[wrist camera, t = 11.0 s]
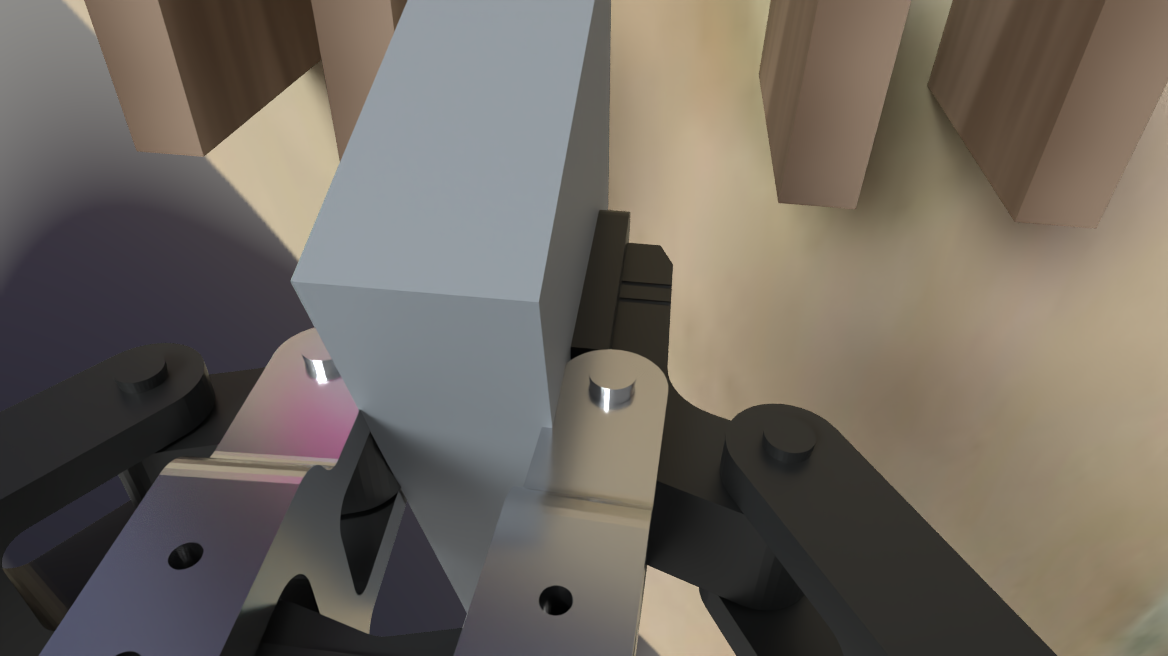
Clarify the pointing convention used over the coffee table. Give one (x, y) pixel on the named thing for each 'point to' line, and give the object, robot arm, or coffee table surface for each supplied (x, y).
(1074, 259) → the coffee table surface
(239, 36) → the domino
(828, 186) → the domino
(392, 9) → the domino
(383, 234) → the grey domino
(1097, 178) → the domino
